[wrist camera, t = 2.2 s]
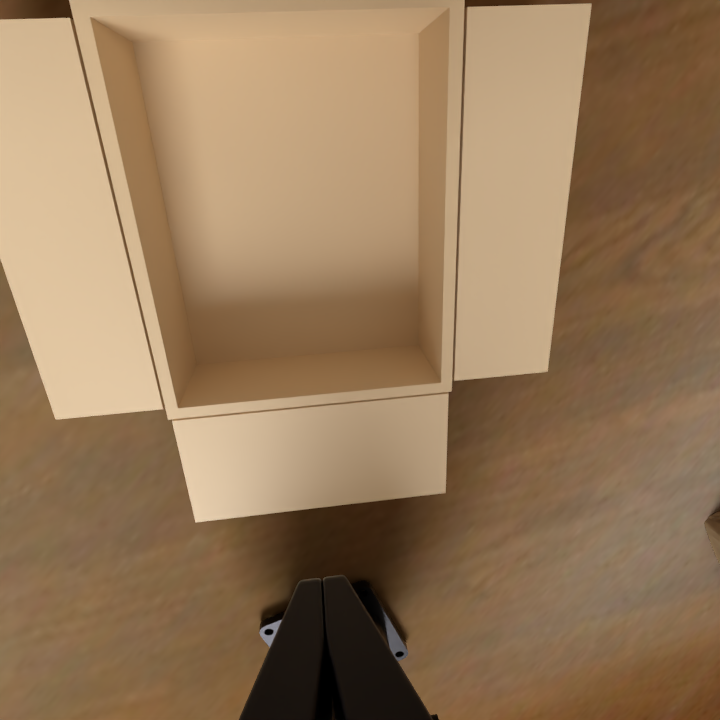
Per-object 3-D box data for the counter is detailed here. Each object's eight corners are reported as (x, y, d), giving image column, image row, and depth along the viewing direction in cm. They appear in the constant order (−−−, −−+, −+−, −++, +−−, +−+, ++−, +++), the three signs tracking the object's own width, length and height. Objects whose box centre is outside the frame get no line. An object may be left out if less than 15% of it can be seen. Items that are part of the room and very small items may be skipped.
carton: (498, 430, 24) (534, 483, 20) (127, 470, 22) (94, 535, 19) (530, 17, 17) (594, -15, 13) (0, 33, 16) (-90, 1, 12)
